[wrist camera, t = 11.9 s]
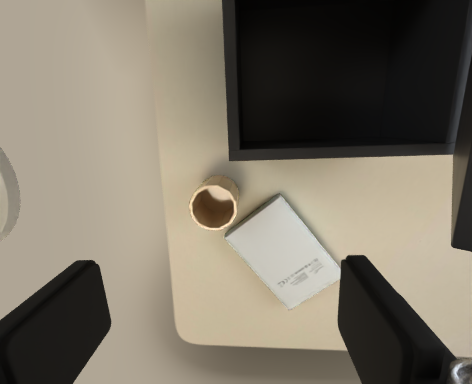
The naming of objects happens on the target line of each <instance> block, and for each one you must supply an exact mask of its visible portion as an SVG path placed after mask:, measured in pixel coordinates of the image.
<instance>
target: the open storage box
mask: <svg viewBox="0 0 472 384" xmlns="http://www.w3.org/2000/svg"><path fill="white" fill-rule="evenodd" d="M222 11H223V33H224V56H225V78H226V101H227V123H228V146H229V161H251V160H284V159H318V158H352V157H386V156H419V155H453V153H454V147H455V142H456V136H457V131H458V126H459V120H460V115H461V109H462V104H463V98H464V93H465V87H466V82H467V77H468V71H469V66H470V60H471V55H472V0H222Z"/></svg>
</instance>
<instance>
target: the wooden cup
mask: <svg viewBox="0 0 472 384" xmlns="http://www.w3.org/2000/svg"><path fill="white" fill-rule="evenodd" d="M238 203H239V189H238V188H237V186H236V184H235V183H234V182H233V180H231V179H230V178H228V177H226V176H222V175H215V176H211V177H209V178H208V179H206V180H205V181H203V182H202V184H201V185H200V186H199V187H198V188H197V190H196V191H195V192H194V194H193V196H192V198H191V200H190V202H189V207H190V215H191V217H192V218H193V219H194V221H195V222H196V224H197V225H199V226H201V227H203V228H205V229H206V230H222V229H224V228H225V227H227V226H229V225H231V224H232V222H233V220H234V218H235V216H236V215H237V210H238Z"/></svg>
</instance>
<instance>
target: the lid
mask: <svg viewBox="0 0 472 384" xmlns="http://www.w3.org/2000/svg"><path fill="white" fill-rule="evenodd" d="M451 246H452V247H453V248H457V249H461V250H466V251H471V252H472V55H471V60H470V66H469V71H468V77H467V82H466V87H465V93H464V98H463V104H462V109H461V115H460V120H459V126H458V131H457V136H456V142H455V147H454V153H453V184H452V225H451Z"/></svg>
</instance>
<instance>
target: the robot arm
mask: <svg viewBox="0 0 472 384" xmlns="http://www.w3.org/2000/svg"><path fill="white" fill-rule="evenodd" d="M110 327H111V318H110V313H109V308H108V304H107V299H106V294H105V290H104V285H103V280H102V276H101V272H100V267H99V265H98V264H96V263H95V261H93V260H79V261H76V262H74V263H73V264H71V265H70V266H69V267H68V268H66V269H65V270H64V271H63V272H61V273H60V274H59V275H58V276H56V277H55V278H54V279H52V280H51V281H50V282H48V283H47V284H46V285H45V286H43V287H42V288H41V289H40V290H38V291H37V292H36V293H34V294H33V295H32V296H31V297H29V298H28V299H27V300H25V301H24V302H23V303H22V304H20V305H19V306H18V307H17V308H15V309H14V310H13V311H11V312H10V313H9V314H8V315H6V316H5V317H4V318H2V319H1V320H0V384H73V382H74V381H75V380H76V378H77V377H78V375H79V374H80V372H81V371H82V369H83V368H84V366H85V365H86V364H87V362H88V361H89V359H90V357H91V356H92V355H93V353H94V352H95V350H96V349H97V347H98V346H99V345H100V343H101V342H102V340H103V339H104V337H105V336H106V334H107V333H108V331H109V330H110ZM338 327H339V331H340V333H341V336H342V338H343V340H344V343H345V345H346V347H347V350H348V352H349V354H350V357H351V359H352V361H353V364H354V366H355V368H356V371H357V373H358V375H359V377H360V380H361V382H362V384H472V359H468V358H463V359H457V358H456V357H455V356H454V355H453V354H452V353H451V352H450V350H449V349H448V348H447V347H446V346H445V345H444V344H443V343H442V341H441V340H440V339H439V338H438V337H437V336H436V335H435V333H434V332H433V331H432V330H431V329H430V328H429V327H428V325H427V324H426V323H425V322H424V321H423V320H422V319H421V318H420V316H419V315H418V314H417V313H416V312H415V311H414V310H413V308H412V307H411V306H410V305H409V304H408V303H407V302H406V300H405V299H404V298H403V297H402V296H401V295H400V294H399V293H397V292H396V291H395V289H394V288H393V287H392V286H391V285H390V284H389V283H388V281H387V280H386V279H385V278H384V277H383V276H382V275H381V273H380V272H379V271H378V270H377V269H376V268H375V267H374V265H373V264H372V263H371V262H370V261H369V260H368V258H367V257H366V256H364V255H348V256H347V257H346V259H344V260H342V261H341V274H340V290H339V306H338Z"/></svg>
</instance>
